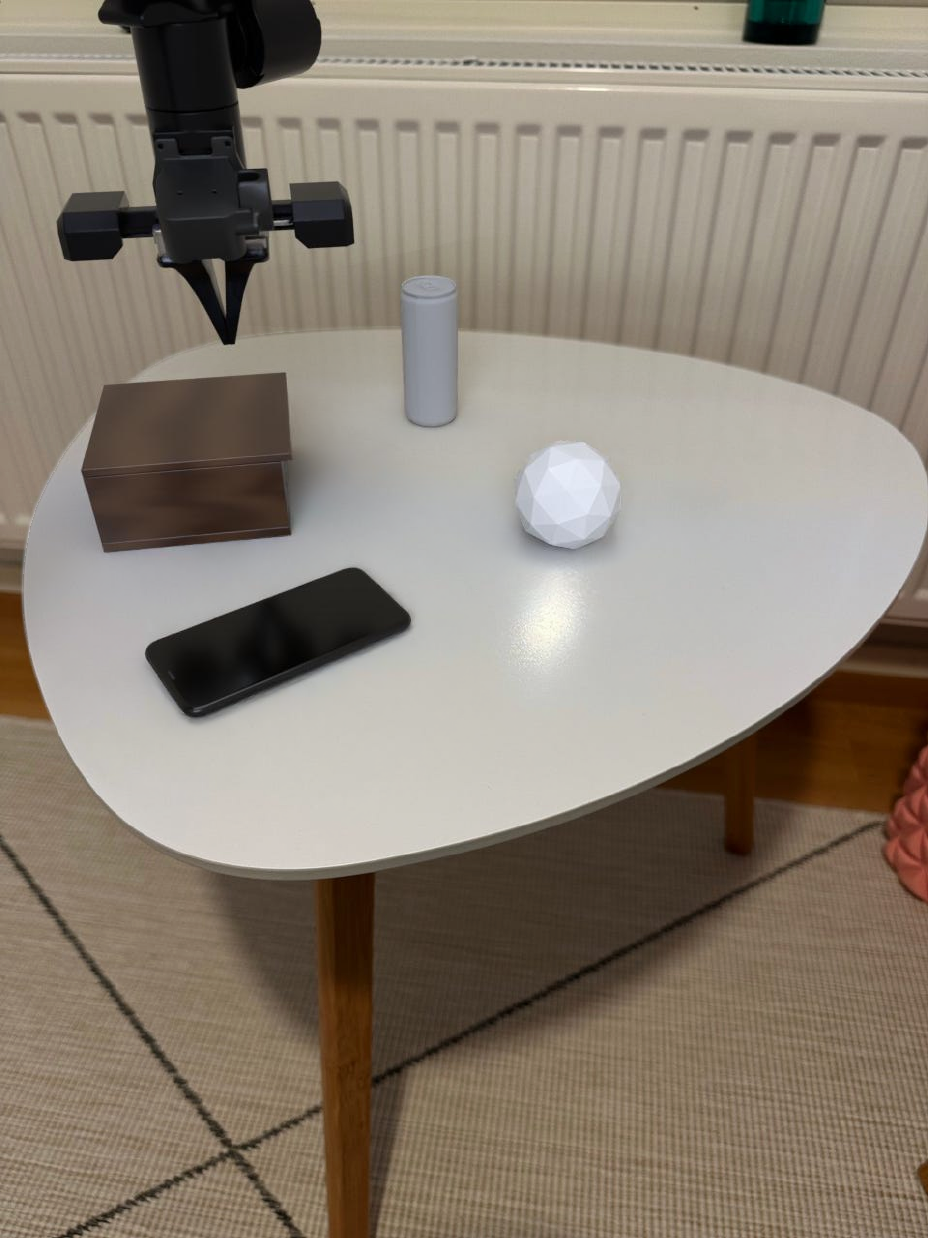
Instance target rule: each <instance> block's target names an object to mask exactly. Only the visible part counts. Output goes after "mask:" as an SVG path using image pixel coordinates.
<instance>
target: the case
mask: <svg viewBox="0 0 928 1238" xmlns="http://www.w3.org/2000/svg"><path fill="white" fill-rule="evenodd" d="M82 479H83V483H84V486H85V490H86V493H87V497H88V501H89V504H90V508H91V511H92V515H93V519H94V522H95V525H96V530H97V532H98V536H99V541H100V543H101V547H102V551H103V553H113V552H123V551H125V552H126V551H134V550H145V549H157V548H166V547H167V548H168V547H179V546H188V545H189V546H190V545H199V544H211V543H221V542H233V541H241V540H243V541H244V540H255V539H265V538H274V537H286V536H287V537H288V536H291V533H292V532H291V515H290V498H289V483H288V482H289V478H288V460H286V461H274V462H261V463H249V464H237V465H225V466H213V467H200V468H188V469H176V470H164V471H152V472H139V473H127V474H115V475H103V476H91V477H83V476H82Z"/></svg>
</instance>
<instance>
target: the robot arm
mask: <svg viewBox="0 0 928 1238" xmlns="http://www.w3.org/2000/svg"><path fill="white" fill-rule="evenodd" d="M97 18H98V20H99V22H100V23H101V24H103V25H109V26H120V27H126V28H127V27H128V28H130V34H131V39H132V45H133V49H134V54H135V55H134V56H135V61H136V66H137V72H138V79H139V82H140V88H141V93H142V99H143V105H144V109H145V116H146V120H147V125H148V132H149V137H150V143H151V147H152V148H151V149H152V152H153V158H154V168H153V174H152V183H151V185H152V190H153V195H154V202H155V205H141V206H130V201H129V199H128V197H127V194H126V191H125V190H113V191H112V190H111V191H90V192H73V193H71V194H70V196H69V197H68V199H67V200H66V202H65V204H64V205H63V208H62V210H61V212H60V213H59V215H58V217H57V219H56V231H57V237H58V241H59V245H60V249H61V253H62V257H63V260H65V261H66V260H67V261H69V262H86V261H106V260H114V259H115V257H116V256H117V254H118V253H119V252H120V251H121V249H122V248H123V246H124V239H140V238H141V239H142V238H153V244H154V245H156V249H157V255H156V258H155V259H156V264H157V265H158V267H160V268H162V269H173V270H174V271H176V272H177V273H178V274H179V275H180V276H181V277H182V278H183V279H184V280H185V281H186V283H187V284H188V285H189V287H190V289H192V291H193V292H194V294H195V295H196V297H197V298H198V301H199V302H200V304H201V306H202V307H203V309H204V311H205V313H206V315H207V317H208V319H209V321H210V323H211V324H212V326H213V329H214V330H215V332H216V334H217V335H218V337H219V339H220V341H221V343H222V345H223V346H229V345H230V346H232V345H235V344H236V340H237V336H238V335H237V333H238V328H239V322H240V316H241V311H242V305H243V299H244V295H245V290H246V288H247V284H248V281H249V278H250V275H251V273H252V271H253V269H254V267H255V265H256V264H262V263H266V262H268V261H269V260H270V258H271V257H270V232H276V231H277V232H279V231H294V238H295V239H296V240H297V241H298V242H300V243H301V244H302V245H303V246H304V247H305V248H306V249H309V250H310V249H327V248H347V247H349V246H352V245H354V244H355V231H354V230H355V229H354V228H355V227H354V217H353V207H352V204H351V199H350V196H349V192H348V189H346V187H345V186H344V185H343V184H341V182H340V181H338V180H332V181H309V182H290V183H289V195H290V199H288V198H287V199H272V192H271V184H270V178H269V177H270V175H269V171H268V170H269V169H268V168H267V167H261V168H248V165H247V157H246V156H247V155H246V149H245V141H244V133H243V125H242V117H241V110H240V102H239V96H238V90H246V89H251V88H255V87H259V86H262V85H266V84H269V83H274V82H277V81H280V80H284V79H288V78H291V77H295V76H298V75H302V74H304V73H306V72H307V71H309V70H310V69H311V68H312V67H313V66H314V64H315V63H316V61H317V59H318V57H319V55H320V53H321V52H320V51H321V47H322V36H323V35H322V34H323V33H322V23H321V20H320V19H319V17H318V15H317V13H316V9H315V7H314V4H313V2H312V0H103V2H102V4H101V6H100V8H99V9H98V10H97ZM213 260H221V261H223V262H224V281H225V306H224V302H223V299H222V294H221V290H220V286H219V282H218V278H217V274H216V271H215V266H214V262H213Z"/></svg>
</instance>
